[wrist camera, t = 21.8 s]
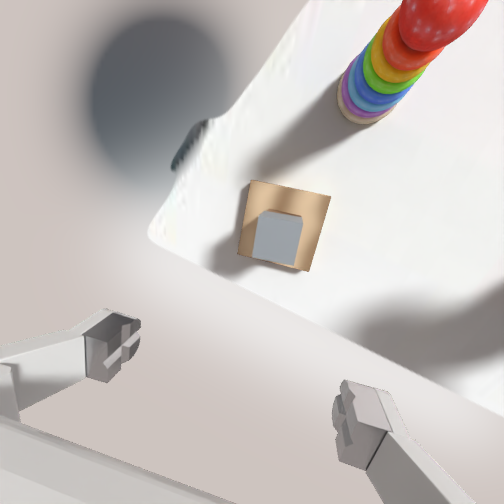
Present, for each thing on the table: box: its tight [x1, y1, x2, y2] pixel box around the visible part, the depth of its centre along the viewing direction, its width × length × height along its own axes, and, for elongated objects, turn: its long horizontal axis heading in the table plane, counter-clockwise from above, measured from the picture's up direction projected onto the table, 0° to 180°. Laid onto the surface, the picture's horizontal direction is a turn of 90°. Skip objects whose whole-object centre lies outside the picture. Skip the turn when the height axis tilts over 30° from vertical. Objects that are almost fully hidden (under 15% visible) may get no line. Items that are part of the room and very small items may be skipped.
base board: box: [237, 180, 331, 272], centre depth 37 cm, size 12×12×2 cm
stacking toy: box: [337, 0, 488, 124], centre depth 22 cm, size 8×8×19 cm
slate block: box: [252, 211, 303, 266], centre depth 29 cm, size 5×5×5 cm
